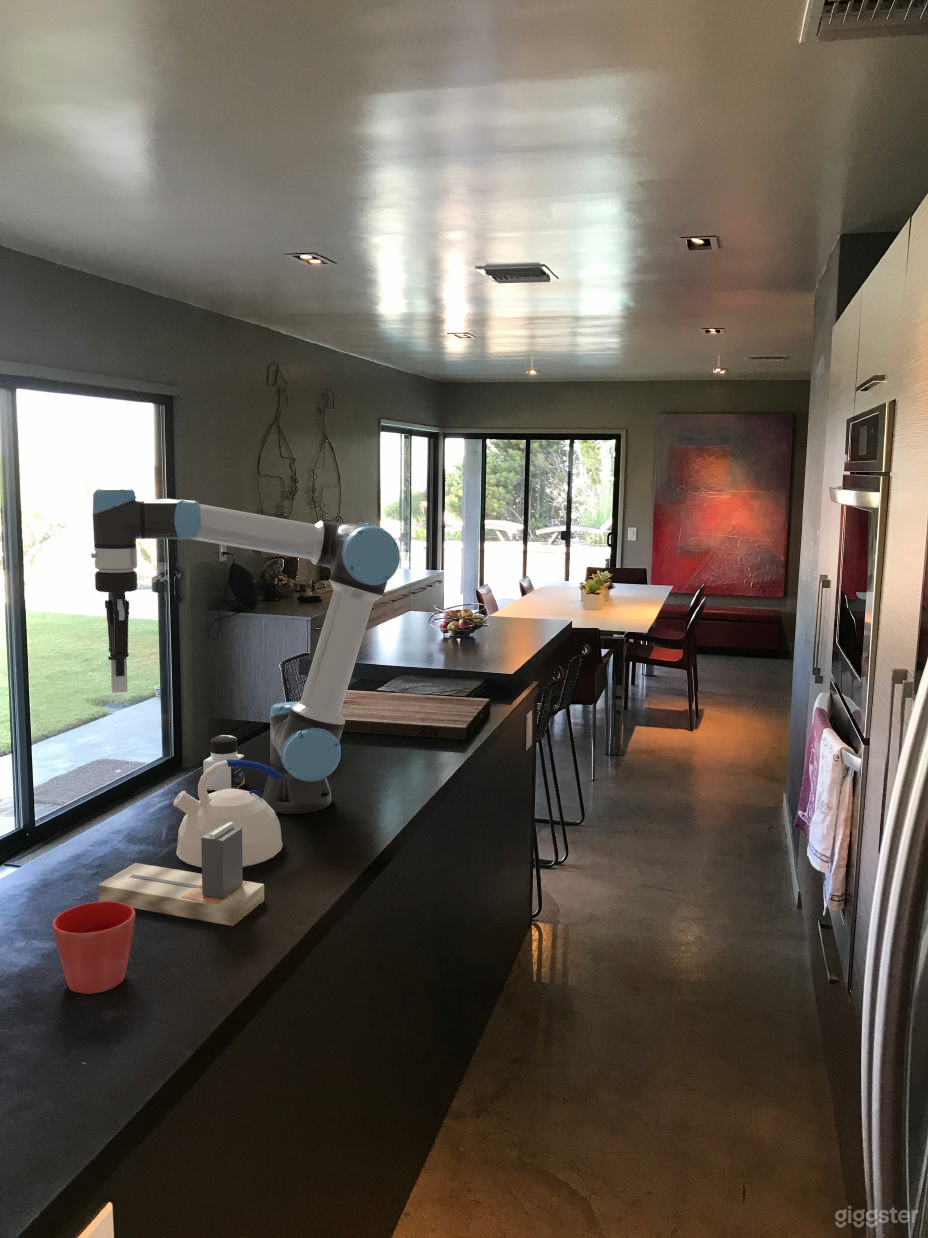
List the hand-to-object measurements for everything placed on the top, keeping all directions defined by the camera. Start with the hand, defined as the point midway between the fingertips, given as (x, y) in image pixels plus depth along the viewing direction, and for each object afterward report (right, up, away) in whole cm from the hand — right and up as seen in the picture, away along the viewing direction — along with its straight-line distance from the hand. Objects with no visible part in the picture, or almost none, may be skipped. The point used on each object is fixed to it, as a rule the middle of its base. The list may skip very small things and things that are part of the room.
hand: (119, 691), depth 182 cm
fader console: (+19, -34, -21) cm, 44 cm away
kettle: (+21, -31, +2) cm, 38 cm away
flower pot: (+14, -38, -47) cm, 62 cm away
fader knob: (+26, -31, -24) cm, 48 cm away
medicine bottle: (+10, -26, +39) cm, 48 cm away
